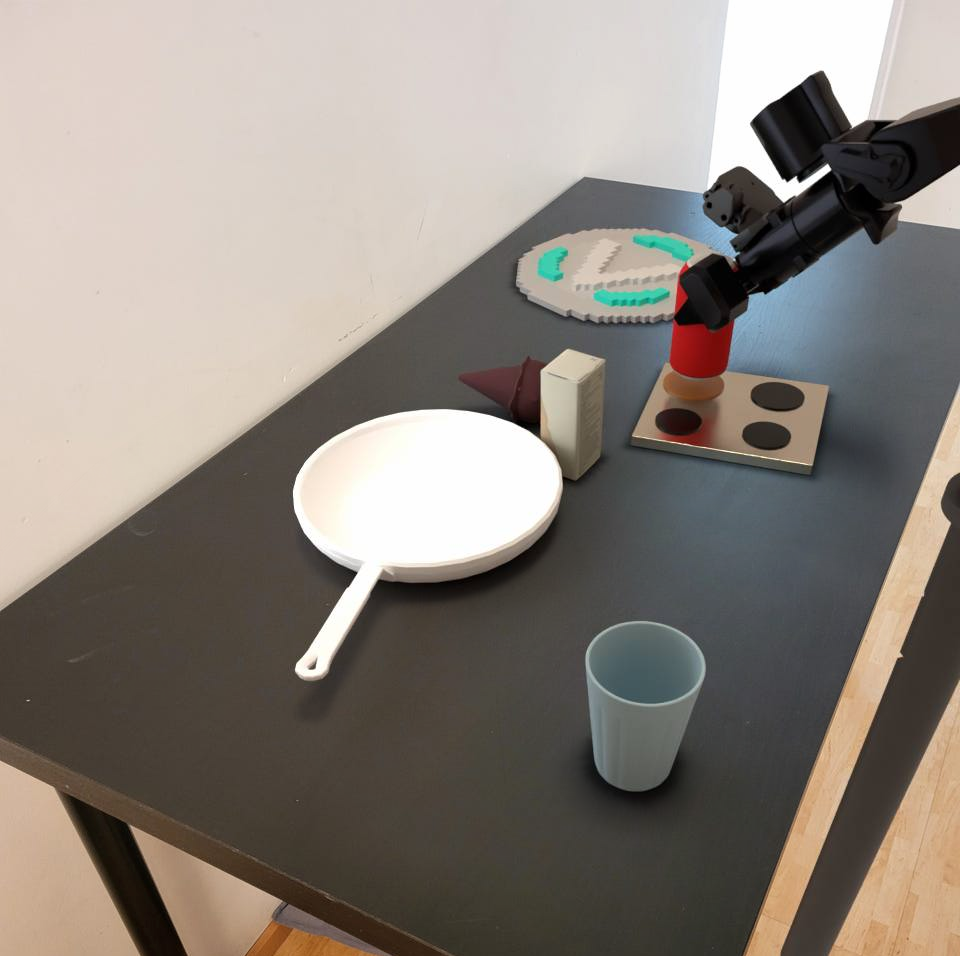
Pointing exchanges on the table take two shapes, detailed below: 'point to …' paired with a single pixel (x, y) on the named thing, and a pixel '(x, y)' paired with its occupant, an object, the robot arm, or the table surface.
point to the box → (573, 410)
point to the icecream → (511, 388)
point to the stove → (735, 419)
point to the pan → (421, 505)
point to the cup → (640, 700)
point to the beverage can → (699, 340)
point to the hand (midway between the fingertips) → (693, 309)
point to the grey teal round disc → (608, 274)
